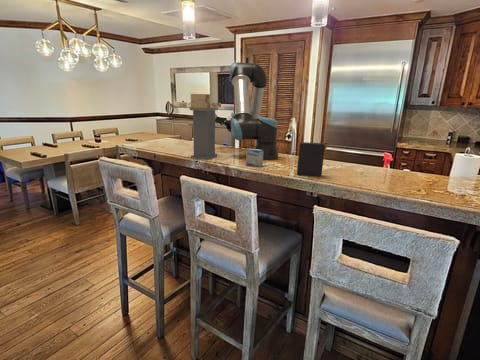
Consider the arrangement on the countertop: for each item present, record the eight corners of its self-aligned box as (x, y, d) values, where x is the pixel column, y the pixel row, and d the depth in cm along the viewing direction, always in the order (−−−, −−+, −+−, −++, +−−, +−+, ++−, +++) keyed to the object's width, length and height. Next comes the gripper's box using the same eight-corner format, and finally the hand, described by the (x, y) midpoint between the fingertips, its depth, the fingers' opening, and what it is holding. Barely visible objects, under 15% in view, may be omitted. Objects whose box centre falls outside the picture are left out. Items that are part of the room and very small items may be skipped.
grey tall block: (202, 153, 175) (202, 106, 168) (218, 155, 171) (219, 107, 164) (189, 158, 161) (188, 107, 153) (206, 160, 157) (206, 108, 149)
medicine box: (245, 165, 148) (246, 149, 146) (249, 163, 152) (250, 147, 150) (259, 167, 145) (260, 150, 143) (262, 165, 149) (263, 149, 146)
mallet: (213, 106, 177) (213, 94, 175) (225, 107, 175) (225, 95, 173) (190, 107, 153) (190, 93, 151) (204, 107, 150) (204, 94, 148)
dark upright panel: (320, 174, 135) (323, 142, 131) (321, 176, 131) (325, 144, 127) (296, 173, 136) (299, 141, 132) (297, 175, 132) (300, 143, 128)
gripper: (248, 133, 195) (238, 119, 176) (215, 131, 204) (203, 117, 184) (250, 123, 197) (241, 108, 177) (217, 121, 205) (205, 106, 186)
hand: (221, 112), depth 181 cm, fingers open, 13 cm apart
